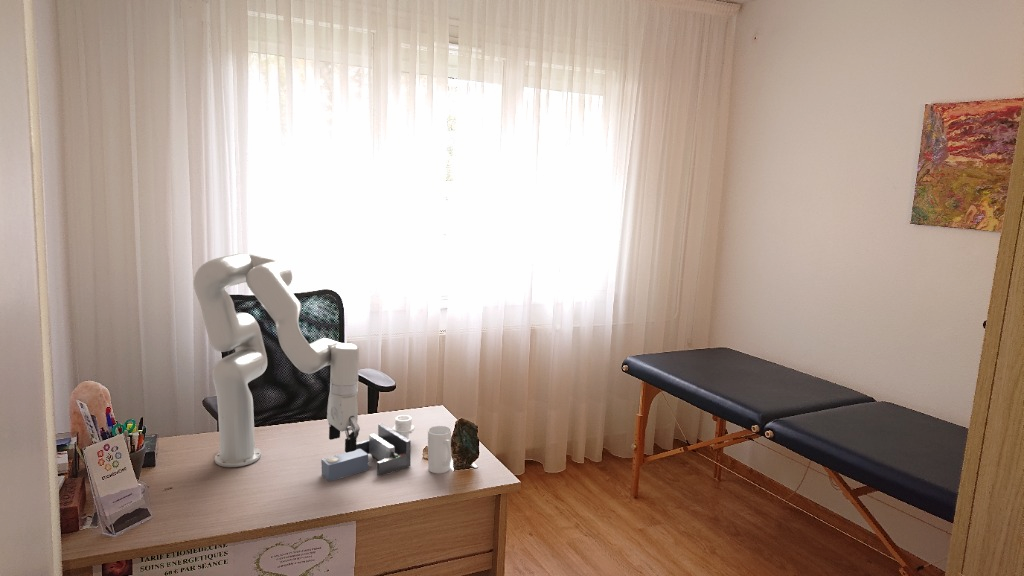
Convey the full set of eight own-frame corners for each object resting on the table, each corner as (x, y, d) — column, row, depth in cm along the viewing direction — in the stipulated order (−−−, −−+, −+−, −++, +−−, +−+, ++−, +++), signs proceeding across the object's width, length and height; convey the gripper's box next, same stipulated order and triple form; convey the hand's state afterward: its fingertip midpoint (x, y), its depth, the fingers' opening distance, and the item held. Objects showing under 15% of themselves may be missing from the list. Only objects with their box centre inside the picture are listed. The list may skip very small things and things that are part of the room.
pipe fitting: (402, 435, 214) (402, 412, 212) (418, 441, 210) (418, 417, 208) (388, 441, 209) (388, 418, 207) (404, 448, 204) (404, 423, 203)
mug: (423, 466, 192) (423, 428, 190) (443, 461, 196) (444, 423, 194) (439, 480, 184) (440, 440, 182) (460, 475, 188) (461, 435, 186)
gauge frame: (379, 476, 186) (378, 450, 184) (351, 456, 197) (351, 431, 196) (410, 466, 192) (410, 440, 191) (382, 447, 204) (382, 423, 203)
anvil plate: (394, 470, 188) (394, 451, 187) (369, 453, 199) (369, 434, 198) (399, 469, 189) (399, 449, 188) (374, 451, 200) (373, 433, 199)
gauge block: (321, 475, 185) (321, 458, 184) (366, 462, 194) (366, 446, 193) (329, 482, 182) (328, 464, 181) (374, 468, 191) (374, 451, 190)
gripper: (317, 380, 187) (316, 436, 190) (346, 400, 174) (344, 459, 177) (342, 376, 192) (340, 431, 195) (371, 395, 179) (369, 453, 182)
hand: (342, 444), depth 186 cm, fingers open, 9 cm apart
